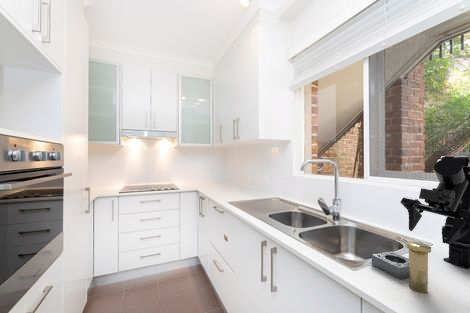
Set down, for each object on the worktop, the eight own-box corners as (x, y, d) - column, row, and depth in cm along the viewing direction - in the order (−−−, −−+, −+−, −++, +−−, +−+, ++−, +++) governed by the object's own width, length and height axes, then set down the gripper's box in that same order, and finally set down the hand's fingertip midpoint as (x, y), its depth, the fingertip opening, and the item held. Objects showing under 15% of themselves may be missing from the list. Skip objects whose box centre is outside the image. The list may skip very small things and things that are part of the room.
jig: (391, 261, 74) (391, 251, 74) (420, 275, 65) (420, 263, 65) (371, 265, 71) (371, 254, 71) (399, 279, 62) (399, 267, 62)
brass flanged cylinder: (414, 281, 61) (414, 240, 62) (435, 292, 56) (435, 247, 57) (401, 284, 60) (401, 242, 60) (422, 296, 55) (422, 250, 55)
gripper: (402, 173, 71) (381, 213, 69) (481, 183, 53) (456, 237, 51) (419, 190, 74) (399, 229, 72) (499, 205, 56) (476, 257, 54)
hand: (427, 236), depth 62 cm, fingers open, 9 cm apart
